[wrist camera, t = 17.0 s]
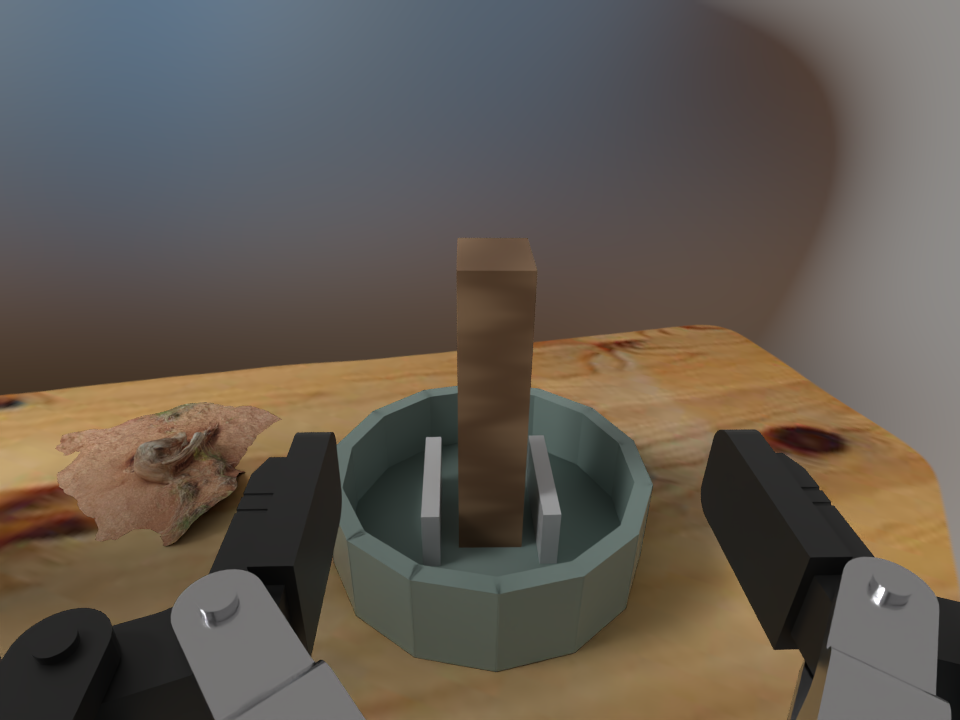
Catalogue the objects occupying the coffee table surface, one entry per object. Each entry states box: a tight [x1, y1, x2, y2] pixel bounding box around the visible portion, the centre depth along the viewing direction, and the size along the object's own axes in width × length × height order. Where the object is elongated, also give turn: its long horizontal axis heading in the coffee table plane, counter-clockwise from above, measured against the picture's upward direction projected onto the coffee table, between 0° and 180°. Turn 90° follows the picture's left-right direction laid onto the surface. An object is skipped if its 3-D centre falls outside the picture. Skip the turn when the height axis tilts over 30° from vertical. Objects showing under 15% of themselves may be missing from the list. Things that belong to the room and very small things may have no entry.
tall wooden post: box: [457, 238, 537, 548], centre depth 28 cm, size 3×4×14 cm
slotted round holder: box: [333, 386, 653, 672], centre depth 31 cm, size 15×15×4 cm
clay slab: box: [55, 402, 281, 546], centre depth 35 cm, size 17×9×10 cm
